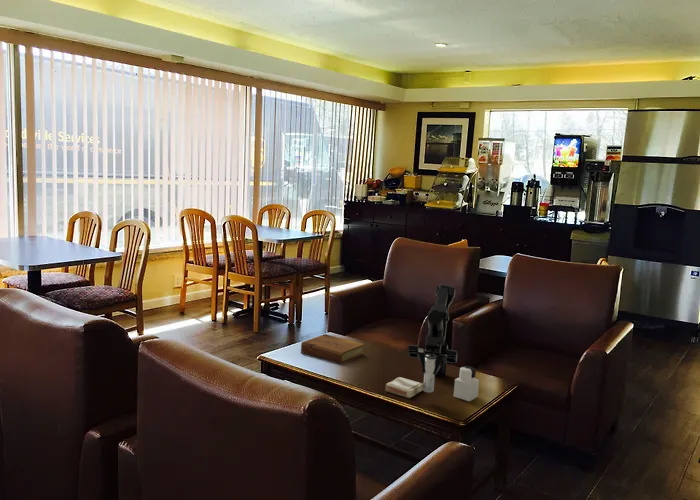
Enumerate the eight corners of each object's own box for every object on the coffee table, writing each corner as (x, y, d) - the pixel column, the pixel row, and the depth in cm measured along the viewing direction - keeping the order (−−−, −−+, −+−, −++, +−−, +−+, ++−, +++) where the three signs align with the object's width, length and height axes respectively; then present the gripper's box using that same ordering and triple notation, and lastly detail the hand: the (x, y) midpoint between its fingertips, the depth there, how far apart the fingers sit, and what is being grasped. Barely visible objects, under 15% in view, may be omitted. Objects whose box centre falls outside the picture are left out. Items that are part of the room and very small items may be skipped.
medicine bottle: (461, 391, 231) (464, 363, 230) (477, 396, 227) (480, 367, 225) (453, 396, 226) (455, 367, 224) (469, 402, 221) (471, 372, 220)
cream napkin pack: (399, 383, 237) (399, 376, 237) (422, 390, 231) (423, 382, 230) (384, 391, 228) (385, 383, 227) (409, 398, 222) (409, 390, 221)
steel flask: (431, 388, 221) (434, 353, 219) (435, 392, 217) (438, 356, 215) (421, 388, 220) (423, 353, 218) (424, 392, 216) (427, 357, 214)
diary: (300, 354, 269) (301, 342, 269) (324, 345, 285) (325, 334, 284) (340, 365, 257) (341, 352, 256) (363, 355, 272) (364, 343, 271)
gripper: (409, 324, 221) (402, 360, 212) (458, 330, 217) (453, 367, 208) (411, 338, 230) (405, 373, 221) (459, 344, 225) (454, 381, 216)
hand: (429, 373), depth 216 cm, fingers closed on steel flask, 4 cm apart
